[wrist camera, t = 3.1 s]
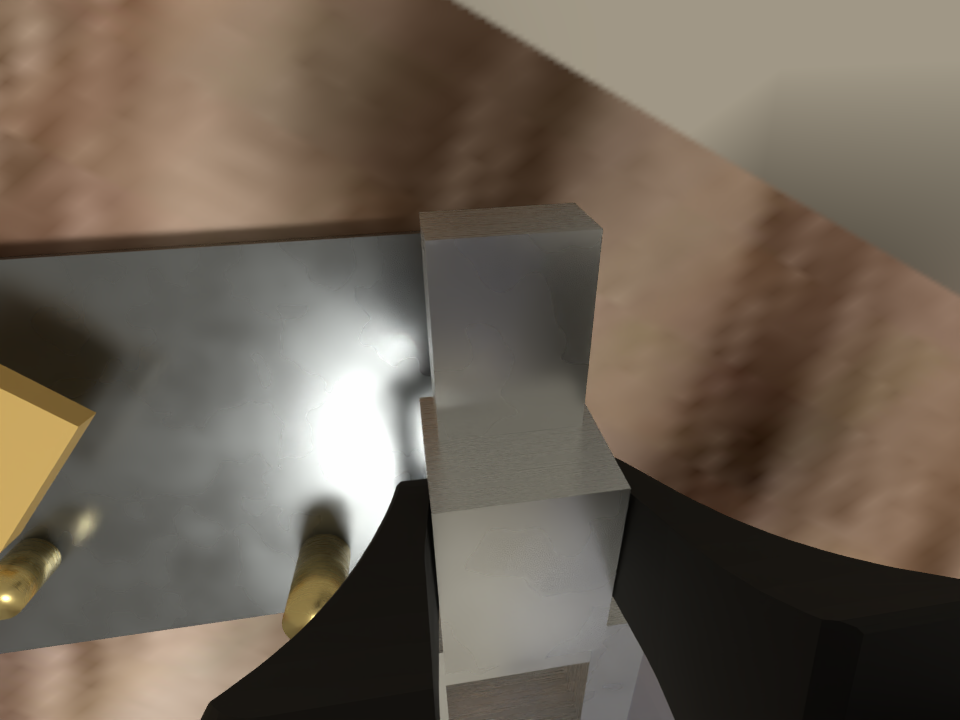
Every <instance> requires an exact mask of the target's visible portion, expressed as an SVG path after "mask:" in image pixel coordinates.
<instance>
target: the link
mask: <svg viewBox="0 0 960 720" xmlns="http://www.w3.org/2000/svg"><path fill="white" fill-rule="evenodd" d="M419 218H420V232H421V246H422V259H423V273H424V287H425V301H426V314H427V328H428V342H429V356H430V369H431V383H432V396H430V397H420V398H419V401H420V412H421V424H422V435H423V446H424V458H425V469H426V478H427V482H428V490H429V499H430V510H431V521H432V532H433V543H434V555H435V566H436V577H437V588H438V599H439V707H440V720H627V716H628V712H629V708H630V704H631V700H632V696H633V692H634V688H635V684H636V680H637V676H638V672H639V668H640V664H641V660H642V656H643V650H642V649H641V647H640V645H639V643H638V641H637V640H636V638H635V636H634V634H633V632H632V631H631V629H630V627H629V625H628V623H627V621H626V620H625V618H624V616H623V614H622V612H621V611H620V609H619V607H618V605H617V603H616V602H615V600H614V598H613V596H612V593H613V587H614V581H615V576H616V570H617V565H618V559H619V553H620V548H621V542H622V537H623V531H624V525H625V520H626V514H627V509H628V503H629V497H630V492H631V488H630V486H629V484H628V482H627V480H626V478H625V477H624V475H623V473H622V471H621V469H620V467H619V466H618V464H617V462H616V460H615V458H614V456H613V454H612V453H611V451H610V449H609V447H608V445H607V443H606V442H605V440H604V438H603V436H602V434H601V432H600V430H599V429H598V427H597V425H596V423H595V421H594V419H593V418H592V416H591V414H590V412H589V410H588V408H587V406H586V405H585V394H586V385H587V375H588V366H589V356H590V347H591V337H592V328H593V319H594V309H595V300H596V290H597V281H598V271H599V262H600V252H601V243H602V234H603V229H602V228H601V227H600V226H599V225H598V224H597V223H596V222H595V221H594V220H593V219H591V218H590V217H589V216H588V215H587V214H586V213H585V212H584V211H583V210H582V209H581V208H579V207H578V206H577V205H576V204H575V203H566V204H549V205H532V206H515V207H498V208H482V209H465V210H448V211H431V212H419Z"/></svg>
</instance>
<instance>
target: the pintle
mask: <svg viewBox="0 0 960 720" xmlns="http://www.w3.org/2000/svg"><path fill="white" fill-rule="evenodd" d="M350 557H351V552H350V548H349V546H348V544H347V543H346V542H345V541H344V540H343V539H341V538H340V537H338V536H335V535H331V534H320V535H316V536H313V537H311V538H309V539H308V540H307V541H306V542H304V544H303V545H302V547H301V548H300V551H299V555H298V559H297V563H296V567H295V571H294V575H293V579H292V583H291V587H290V591H289V595H288V599H287V603H286V607H285V611H284V615H283V620H282V627H283V630H284V632H285V634H286V635H287V636H288V637H289V638H290V639H292V638H293V637H294V636H295V635H296V634H297V633H298V632H299V631H300V630H301V629H302V628H303V627H304V626H305V625H306V624H307V623H308V622H309V621H310V620H311V619H312V618H313V617H314V616H315V615H316V614H317V613H318V612H319V610H320V609H321V608H322V607H323V606H324V605H325V604H326V603H327V601H328V600H329V599H330V598H331V597H332V596H333V594H334V593H335V592H336V591H337V590H338V588H339V587H340V586H341V584H342V583H343V582H344V581H345V579H346V578H347V577H348V575H349V566H350Z"/></svg>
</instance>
